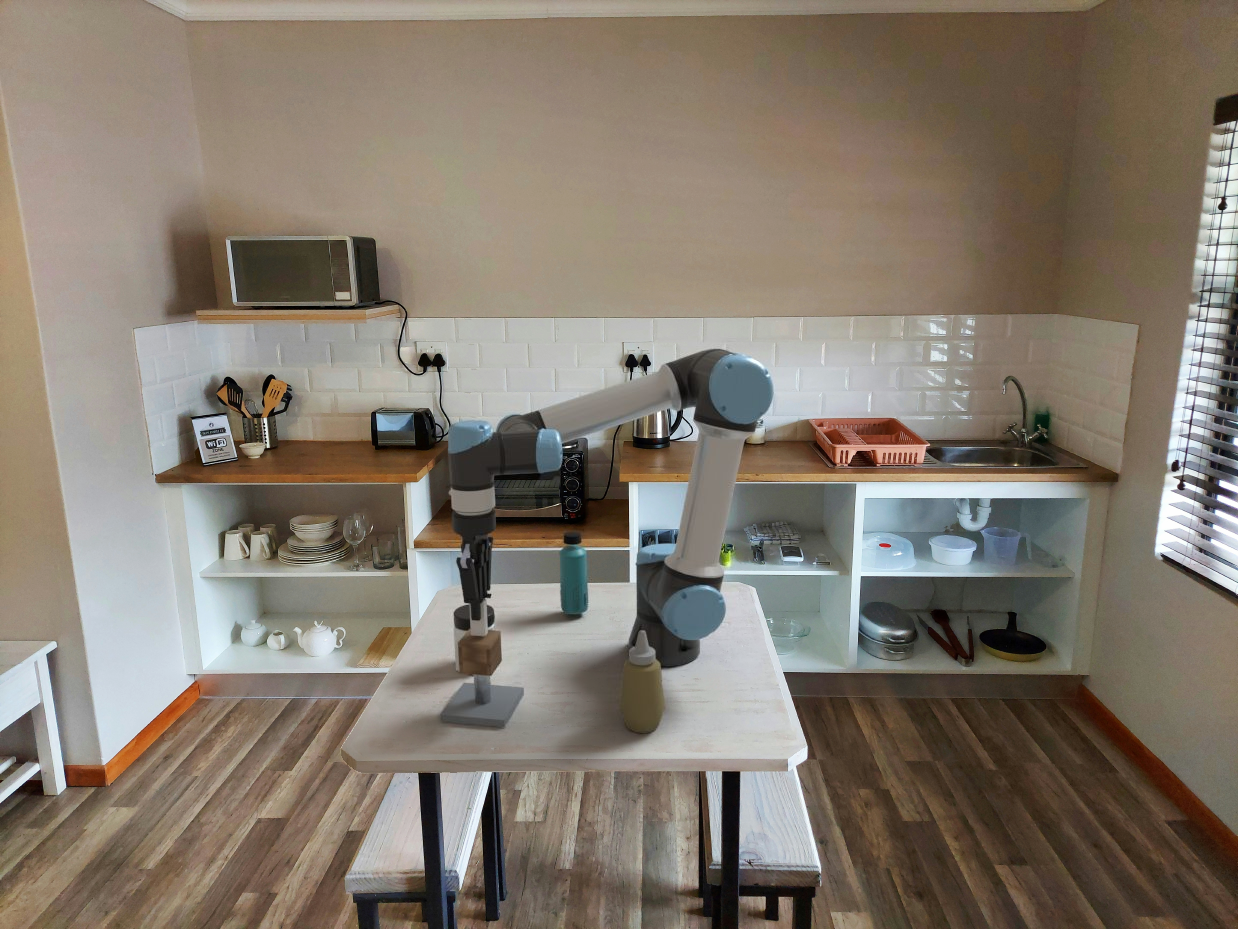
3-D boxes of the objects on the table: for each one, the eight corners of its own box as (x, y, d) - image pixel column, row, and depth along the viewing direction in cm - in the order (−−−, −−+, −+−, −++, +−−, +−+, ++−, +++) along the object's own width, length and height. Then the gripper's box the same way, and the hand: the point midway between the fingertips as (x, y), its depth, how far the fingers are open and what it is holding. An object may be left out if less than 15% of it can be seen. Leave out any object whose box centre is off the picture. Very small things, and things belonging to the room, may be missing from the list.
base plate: (523, 694, 165) (523, 687, 164) (504, 727, 153) (504, 720, 153) (464, 689, 167) (463, 682, 166) (440, 721, 155) (440, 714, 155)
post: (493, 697, 161) (490, 637, 158) (488, 705, 158) (485, 645, 155) (478, 695, 161) (475, 636, 158) (472, 703, 158) (469, 643, 156)
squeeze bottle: (650, 742, 148) (650, 645, 144) (611, 729, 152) (609, 635, 148) (673, 721, 155) (673, 628, 151) (634, 709, 159) (634, 618, 155)
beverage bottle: (588, 620, 198) (586, 537, 193) (559, 620, 198) (557, 537, 193) (589, 609, 204) (588, 528, 199) (561, 609, 204) (559, 528, 199)
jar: (464, 679, 171) (461, 623, 168) (448, 663, 177) (445, 609, 174) (505, 667, 176) (502, 612, 173) (488, 652, 182) (485, 599, 179)
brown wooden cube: (501, 660, 160) (500, 631, 159) (491, 676, 155) (489, 645, 153) (471, 658, 161) (469, 628, 160) (459, 673, 156) (457, 642, 154)
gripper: (466, 498, 158) (472, 618, 163) (439, 519, 145) (446, 648, 151) (505, 500, 156) (510, 620, 162) (481, 521, 144) (487, 651, 149)
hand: (479, 633), depth 156 cm, fingers closed
